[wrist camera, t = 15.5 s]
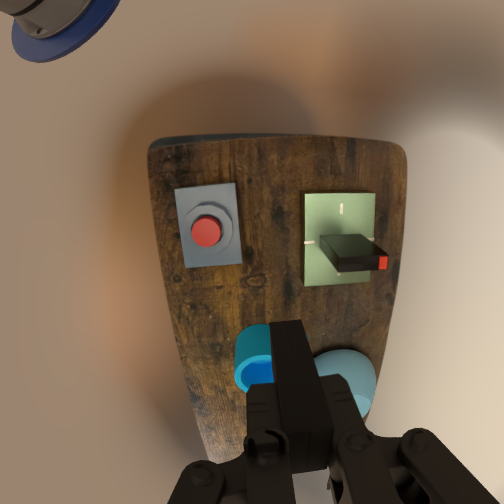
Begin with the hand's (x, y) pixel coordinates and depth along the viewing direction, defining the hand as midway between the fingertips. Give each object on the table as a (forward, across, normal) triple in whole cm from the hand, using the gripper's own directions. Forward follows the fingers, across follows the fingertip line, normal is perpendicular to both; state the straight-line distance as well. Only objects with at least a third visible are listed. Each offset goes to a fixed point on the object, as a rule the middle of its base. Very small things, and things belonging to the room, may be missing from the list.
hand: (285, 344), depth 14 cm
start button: (+26, -7, 0) cm, 27 cm away
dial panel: (+29, +11, -3) cm, 31 cm away
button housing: (+29, -7, 0) cm, 30 cm away
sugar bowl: (+30, +12, -30) cm, 44 cm away
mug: (+30, 0, -20) cm, 36 cm away
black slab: (+26, +11, -3) cm, 29 cm away
